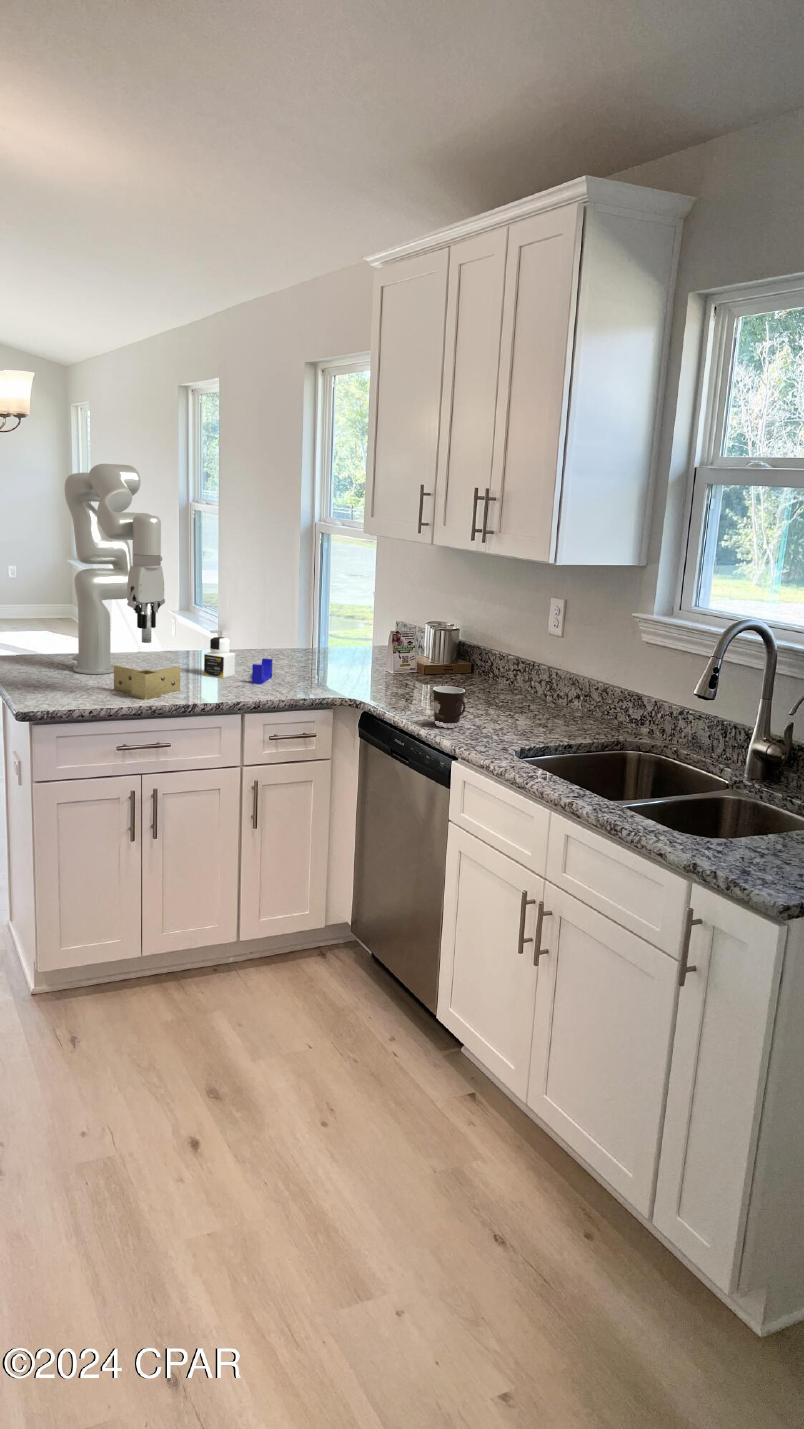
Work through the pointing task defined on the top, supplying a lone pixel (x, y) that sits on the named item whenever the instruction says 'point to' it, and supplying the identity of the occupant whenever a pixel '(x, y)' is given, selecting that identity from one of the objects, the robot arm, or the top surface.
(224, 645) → the medicine bottle
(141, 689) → the hinge
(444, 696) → the coffee mug
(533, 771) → the top surface
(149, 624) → the pin
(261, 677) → the cable clip
